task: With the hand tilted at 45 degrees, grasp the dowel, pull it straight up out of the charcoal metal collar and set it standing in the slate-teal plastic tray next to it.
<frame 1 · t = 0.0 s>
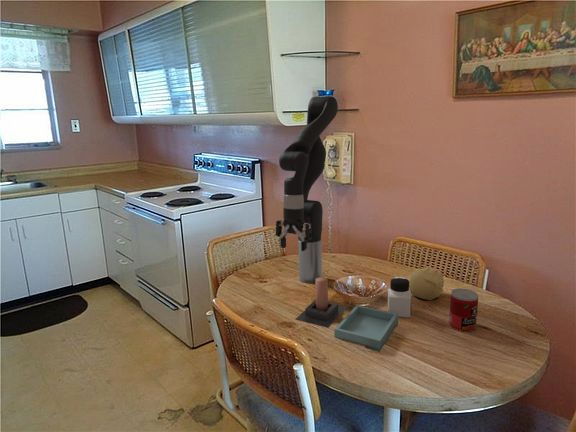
hand: (293, 249, 154), 17 cm above the table, tool pointing down, fingers open, 8 cm apart
tray: (367, 331, 127), on the table
dowel: (322, 313, 138), point 1 cm above the table, touching holder
pale yellow round lump: (425, 296, 151), on the table
medicine bottle: (398, 312, 139), on the table
holder: (322, 315, 138), on the table
canned food: (462, 326, 129), on the table
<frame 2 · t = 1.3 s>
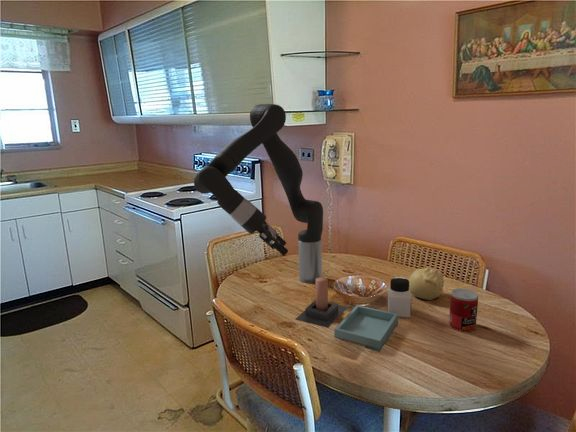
hand: (285, 249, 132), 24 cm above the table, tool tilted 45°, fingers open, 8 cm apart
nothing on the table moved.
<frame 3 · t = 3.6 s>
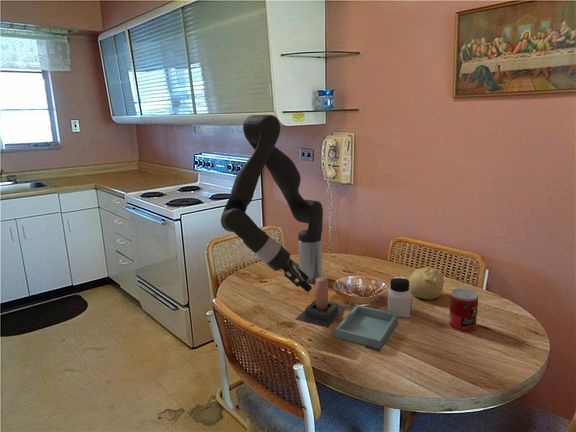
hand: (308, 284, 135), 12 cm above the table, tool tilted 45°, fingers open, 8 cm apart
nothing on the table moved.
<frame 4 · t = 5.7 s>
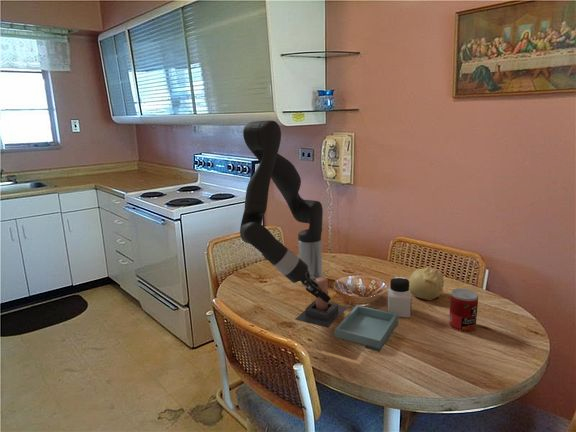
hand: (327, 297, 137), 7 cm above the table, tool tilted 45°, fingers closed on dowel, 4 cm apart
dowel: (322, 312, 138), point 1 cm above the table, touching gripper, holder
everything else where it was.
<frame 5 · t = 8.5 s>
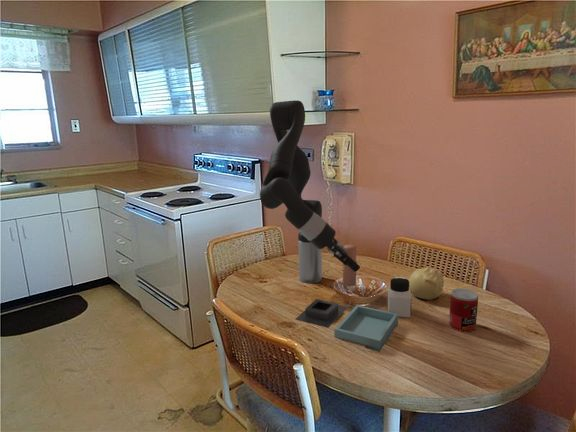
hand: (355, 266, 126), 20 cm above the table, tool tilted 45°, fingers closed on dowel, 4 cm apart
dowel: (349, 283, 127), point 15 cm above the table, touching gripper
everything else where it was.
when the fingers open (8 cm above the table, at t = 11.6 s): dowel drops 1 cm, resting on tray.
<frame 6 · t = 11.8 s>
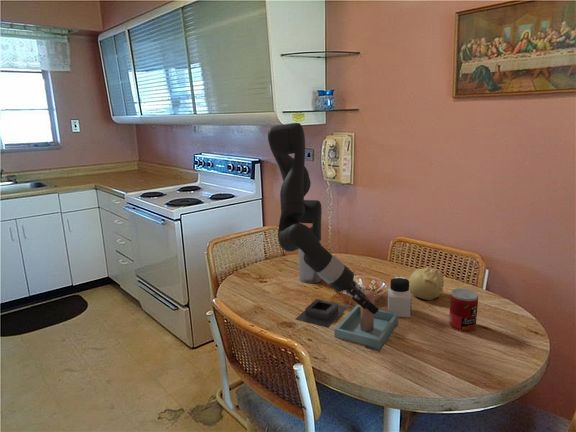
hand: (373, 306, 125), 8 cm above the table, tool tilted 45°, fingers open, 5 cm apart
dowel: (366, 328, 127), point 1 cm above the table, touching tray
everything else where it was.
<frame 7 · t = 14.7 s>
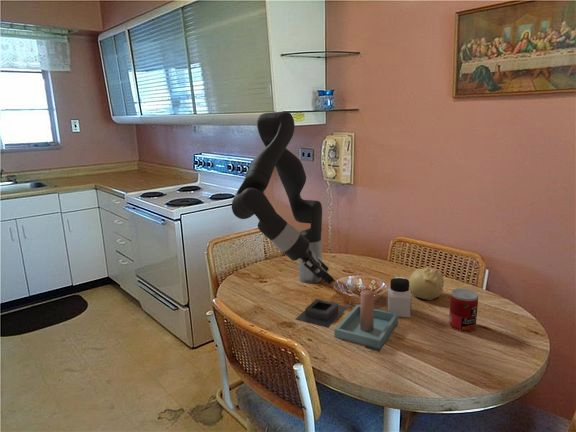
hand: (329, 276, 122), 19 cm above the table, tool tilted 45°, fingers open, 8 cm apart
nothing on the table moved.
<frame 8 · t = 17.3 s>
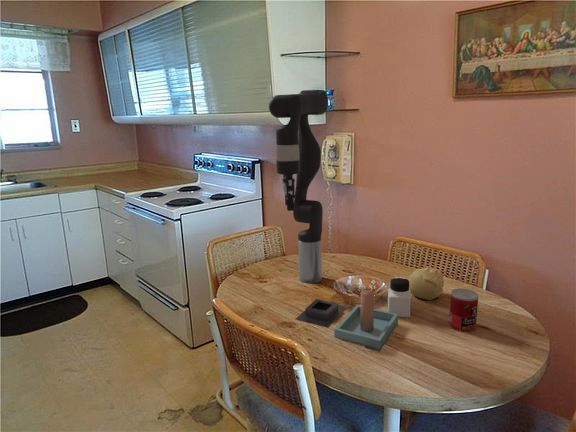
hand: (289, 207, 137), 36 cm above the table, tool pointing down, fingers open, 8 cm apart
nothing on the table moved.
at the end: dowel inside the target area on the tray (0.1 cm from its centre), point 1.0 cm above the tray's base; dowel tilted 0°; the gripper is holding nothing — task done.
